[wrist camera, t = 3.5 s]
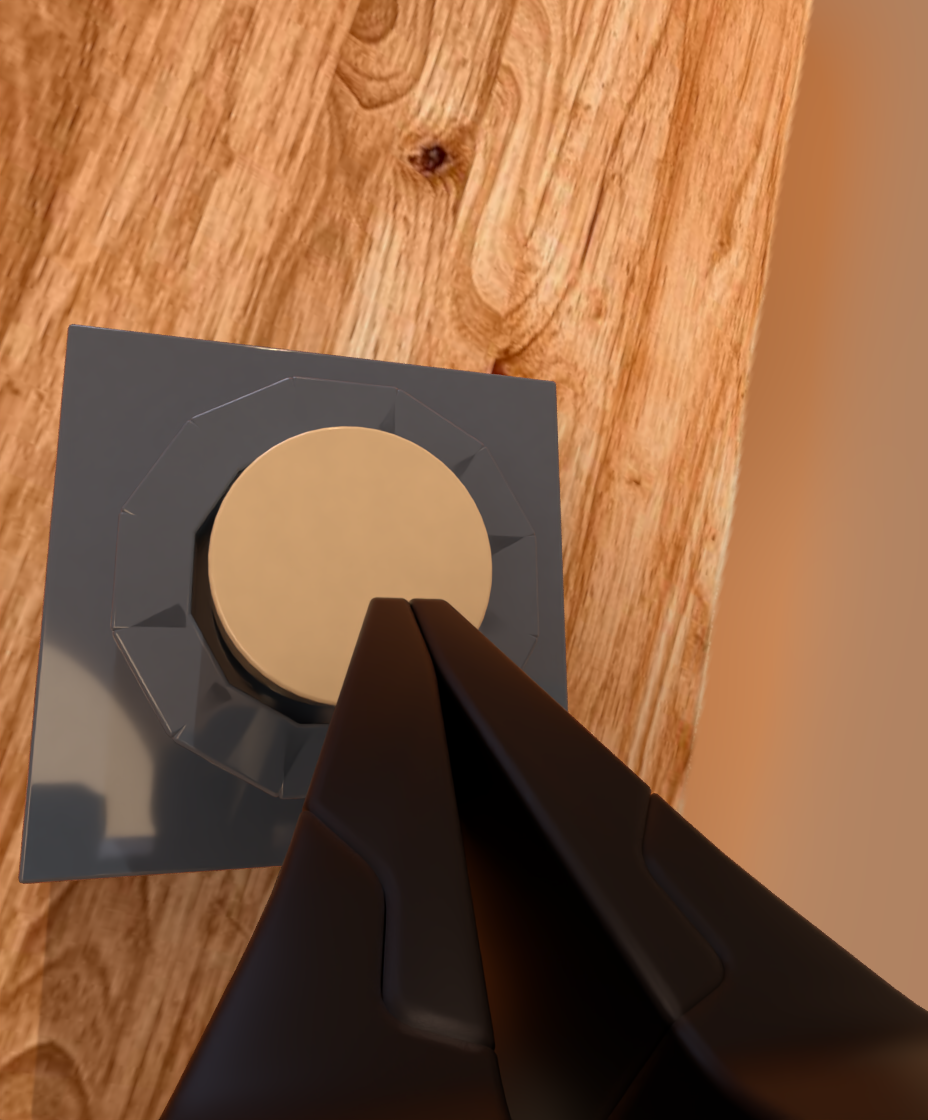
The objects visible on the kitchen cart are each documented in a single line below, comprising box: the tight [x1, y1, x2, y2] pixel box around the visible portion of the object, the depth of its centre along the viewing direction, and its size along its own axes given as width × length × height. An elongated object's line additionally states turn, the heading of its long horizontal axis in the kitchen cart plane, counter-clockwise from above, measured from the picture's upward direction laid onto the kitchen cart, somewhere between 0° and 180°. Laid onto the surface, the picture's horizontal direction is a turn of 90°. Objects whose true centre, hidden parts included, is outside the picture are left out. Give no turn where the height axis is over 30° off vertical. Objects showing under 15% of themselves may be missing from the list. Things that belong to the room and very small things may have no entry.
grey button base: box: [18, 324, 568, 884], centre depth 17 cm, size 10×10×7 cm
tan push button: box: [208, 426, 492, 708], centre depth 13 cm, size 4×4×2 cm
